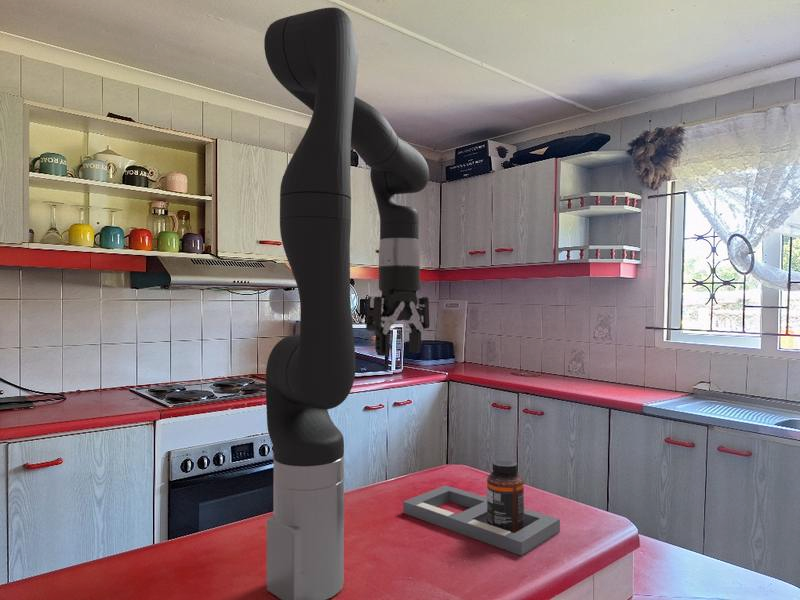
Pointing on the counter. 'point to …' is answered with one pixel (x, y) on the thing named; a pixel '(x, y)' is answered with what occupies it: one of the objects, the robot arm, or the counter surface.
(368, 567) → the counter surface
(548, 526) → the socket panel
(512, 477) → the supplement bottle
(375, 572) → the counter surface
